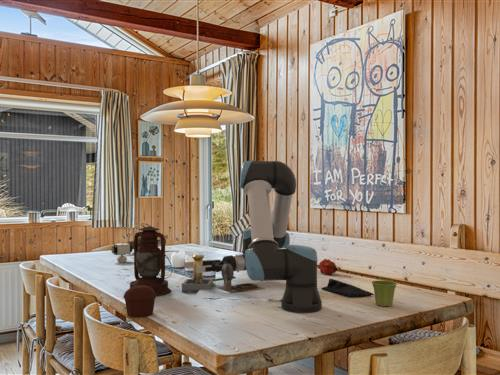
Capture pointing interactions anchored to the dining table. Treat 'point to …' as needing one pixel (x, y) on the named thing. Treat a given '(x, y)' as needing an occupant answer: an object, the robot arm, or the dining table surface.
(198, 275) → the lock pin
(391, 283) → the plant pot
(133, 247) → the wood carving
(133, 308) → the muffin
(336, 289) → the dark slate chunk
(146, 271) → the lantern
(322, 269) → the red bumpy oval lump
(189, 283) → the tray
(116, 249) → the pneumatic valve
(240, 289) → the board
